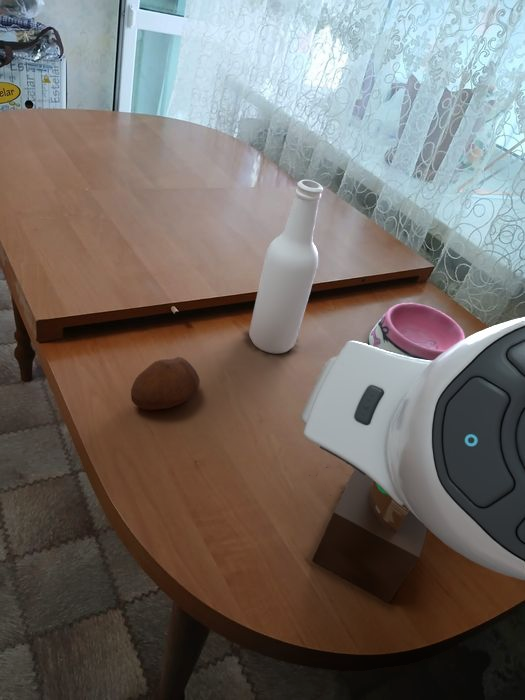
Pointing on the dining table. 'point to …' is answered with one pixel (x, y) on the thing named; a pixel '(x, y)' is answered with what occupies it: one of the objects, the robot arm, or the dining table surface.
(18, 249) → the dining table surface
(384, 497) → the food container
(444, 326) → the dog bowl
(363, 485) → the stand
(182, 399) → the potato
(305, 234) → the alcohol
